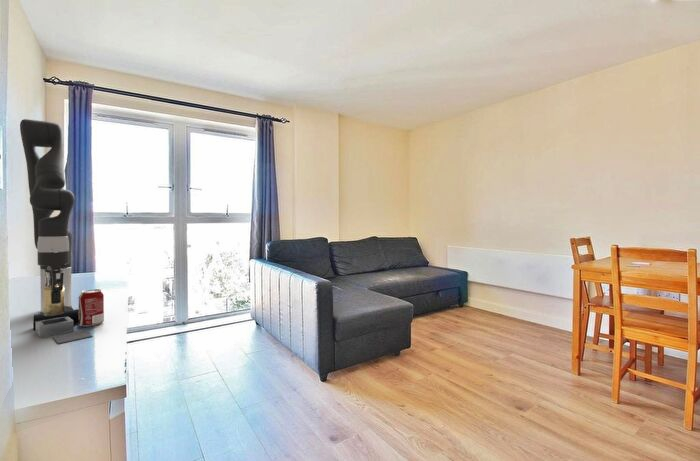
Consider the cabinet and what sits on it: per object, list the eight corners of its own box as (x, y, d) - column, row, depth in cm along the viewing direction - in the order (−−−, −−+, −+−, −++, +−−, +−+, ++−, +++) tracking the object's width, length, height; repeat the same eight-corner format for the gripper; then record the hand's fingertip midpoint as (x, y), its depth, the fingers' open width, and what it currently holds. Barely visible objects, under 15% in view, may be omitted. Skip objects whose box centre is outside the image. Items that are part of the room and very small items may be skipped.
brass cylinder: (42, 313, 102) (42, 286, 102) (63, 310, 106) (62, 284, 106) (45, 316, 99) (45, 288, 99) (66, 313, 103) (66, 286, 103)
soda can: (107, 323, 111) (107, 290, 111) (84, 329, 105) (84, 293, 105) (98, 320, 115) (97, 288, 114) (75, 325, 109) (74, 291, 108)
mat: (52, 338, 97) (52, 336, 97) (85, 331, 103) (85, 330, 103) (57, 344, 92) (57, 342, 92) (92, 336, 98) (92, 335, 98)
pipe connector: (36, 308, 112) (90, 302, 122) (36, 323, 112) (90, 315, 122) (33, 316, 103) (92, 308, 113) (33, 332, 103) (92, 323, 113)
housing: (35, 332, 102) (35, 321, 102) (68, 326, 108) (68, 316, 108) (39, 338, 97) (39, 326, 97) (73, 331, 103) (73, 320, 103)
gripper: (33, 249, 103) (34, 300, 104) (41, 252, 95) (42, 308, 95) (64, 248, 109) (64, 296, 110) (74, 250, 100) (74, 303, 101)
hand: (54, 301), depth 102 cm, fingers closed on brass cylinder, 5 cm apart
